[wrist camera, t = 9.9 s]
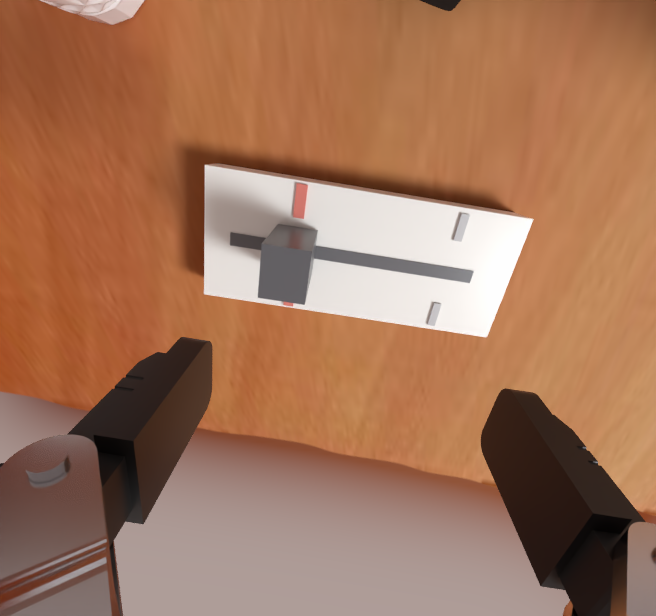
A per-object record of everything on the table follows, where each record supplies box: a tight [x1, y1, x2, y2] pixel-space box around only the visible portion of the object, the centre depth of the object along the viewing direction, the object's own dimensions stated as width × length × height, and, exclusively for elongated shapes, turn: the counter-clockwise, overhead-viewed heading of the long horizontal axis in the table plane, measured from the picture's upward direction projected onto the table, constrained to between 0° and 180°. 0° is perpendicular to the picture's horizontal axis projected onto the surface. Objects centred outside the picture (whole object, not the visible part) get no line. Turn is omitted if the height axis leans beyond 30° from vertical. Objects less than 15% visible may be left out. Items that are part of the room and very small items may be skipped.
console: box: [204, 163, 533, 337], centre depth 28 cm, size 24×10×3 cm, turn 81°
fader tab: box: [258, 224, 318, 305], centre depth 24 cm, size 3×4×6 cm
